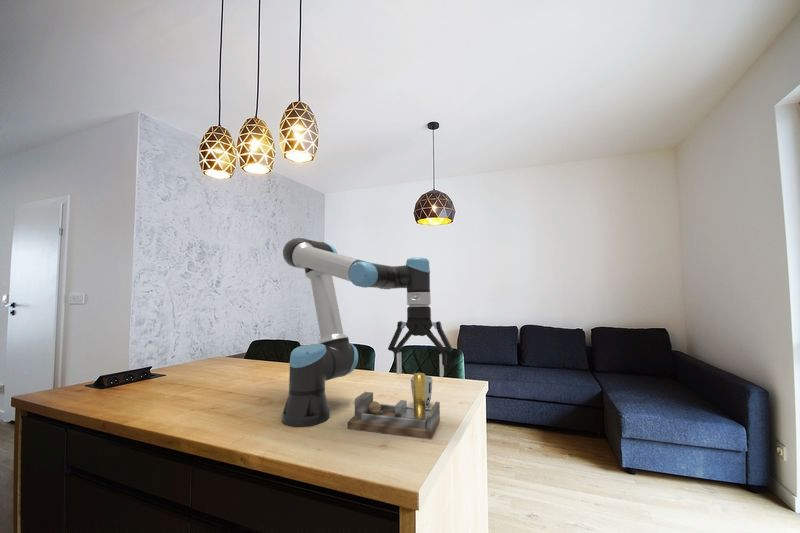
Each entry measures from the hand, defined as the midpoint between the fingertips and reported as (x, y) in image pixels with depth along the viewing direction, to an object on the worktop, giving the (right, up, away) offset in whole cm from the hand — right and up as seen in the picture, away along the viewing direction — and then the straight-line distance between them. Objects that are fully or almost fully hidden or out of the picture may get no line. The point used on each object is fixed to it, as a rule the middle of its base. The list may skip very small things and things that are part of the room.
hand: (420, 374), depth 98 cm
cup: (+2, -18, +19) cm, 26 cm away
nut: (-14, -14, +3) cm, 20 cm away
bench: (-8, -16, +1) cm, 18 cm away
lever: (-2, -13, -1) cm, 14 cm away
